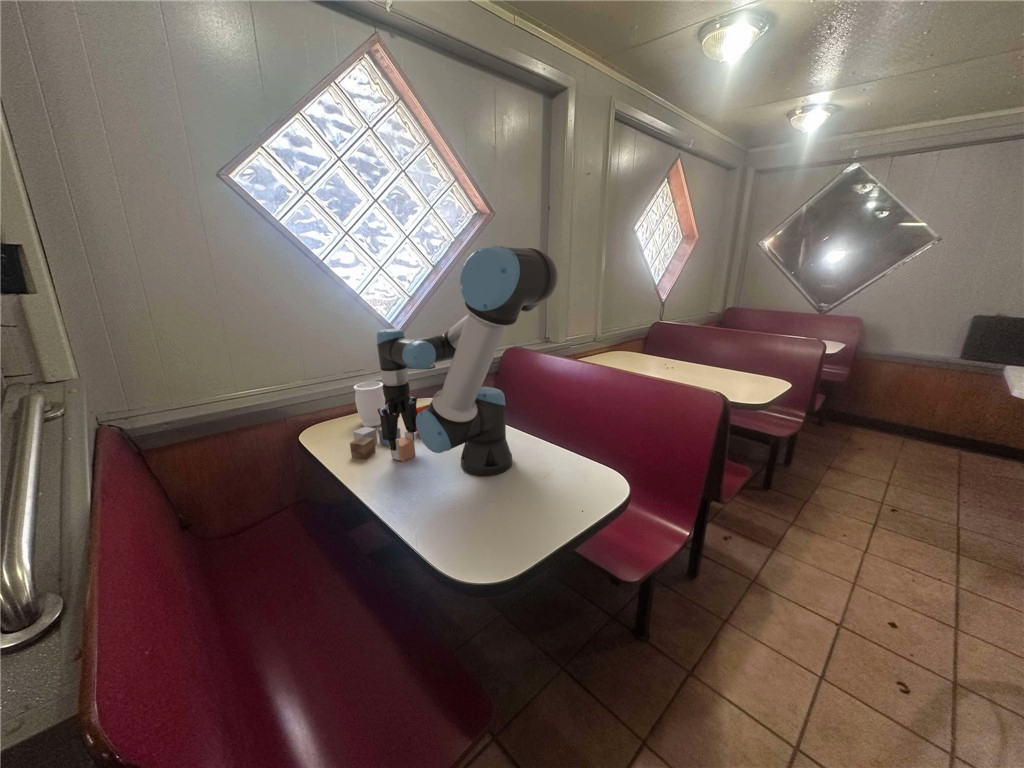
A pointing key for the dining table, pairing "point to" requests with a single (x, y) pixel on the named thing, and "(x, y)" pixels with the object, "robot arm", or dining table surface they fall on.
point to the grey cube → (366, 433)
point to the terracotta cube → (406, 448)
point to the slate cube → (386, 440)
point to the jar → (369, 402)
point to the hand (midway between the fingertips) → (403, 455)
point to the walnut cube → (362, 447)
